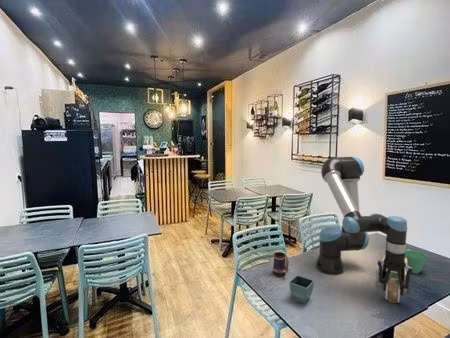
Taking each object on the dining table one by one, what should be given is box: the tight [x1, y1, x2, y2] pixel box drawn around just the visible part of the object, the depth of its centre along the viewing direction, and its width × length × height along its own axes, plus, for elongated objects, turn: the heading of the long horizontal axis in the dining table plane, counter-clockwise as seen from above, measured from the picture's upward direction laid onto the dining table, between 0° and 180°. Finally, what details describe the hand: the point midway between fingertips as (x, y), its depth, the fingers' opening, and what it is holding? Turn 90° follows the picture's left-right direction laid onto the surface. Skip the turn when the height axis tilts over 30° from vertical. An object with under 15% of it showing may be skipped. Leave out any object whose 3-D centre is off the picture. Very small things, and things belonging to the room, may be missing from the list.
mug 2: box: [405, 248, 427, 275], centre depth 151 cm, size 15×10×10 cm
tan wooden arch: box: [378, 253, 408, 294], centre depth 139 cm, size 12×19×10 cm, turn 147°
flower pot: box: [288, 274, 315, 304], centre depth 124 cm, size 9×9×9 cm
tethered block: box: [385, 268, 400, 304], centre depth 131 cm, size 6×25×10 cm, turn 147°
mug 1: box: [272, 251, 290, 278], centre depth 146 cm, size 10×7×12 cm
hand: (392, 299), depth 123 cm, fingers closed on tethered block, 4 cm apart
